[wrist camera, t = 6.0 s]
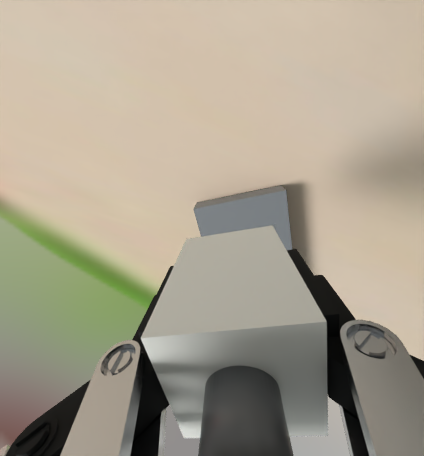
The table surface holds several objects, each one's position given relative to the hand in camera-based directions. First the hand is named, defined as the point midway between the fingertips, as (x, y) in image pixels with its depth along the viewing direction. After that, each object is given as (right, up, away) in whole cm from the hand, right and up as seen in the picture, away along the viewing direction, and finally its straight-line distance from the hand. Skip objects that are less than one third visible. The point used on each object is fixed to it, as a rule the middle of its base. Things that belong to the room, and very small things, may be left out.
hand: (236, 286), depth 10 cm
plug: (0, +1, +1) cm, 1 cm away
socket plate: (+3, 0, +17) cm, 17 cm away
